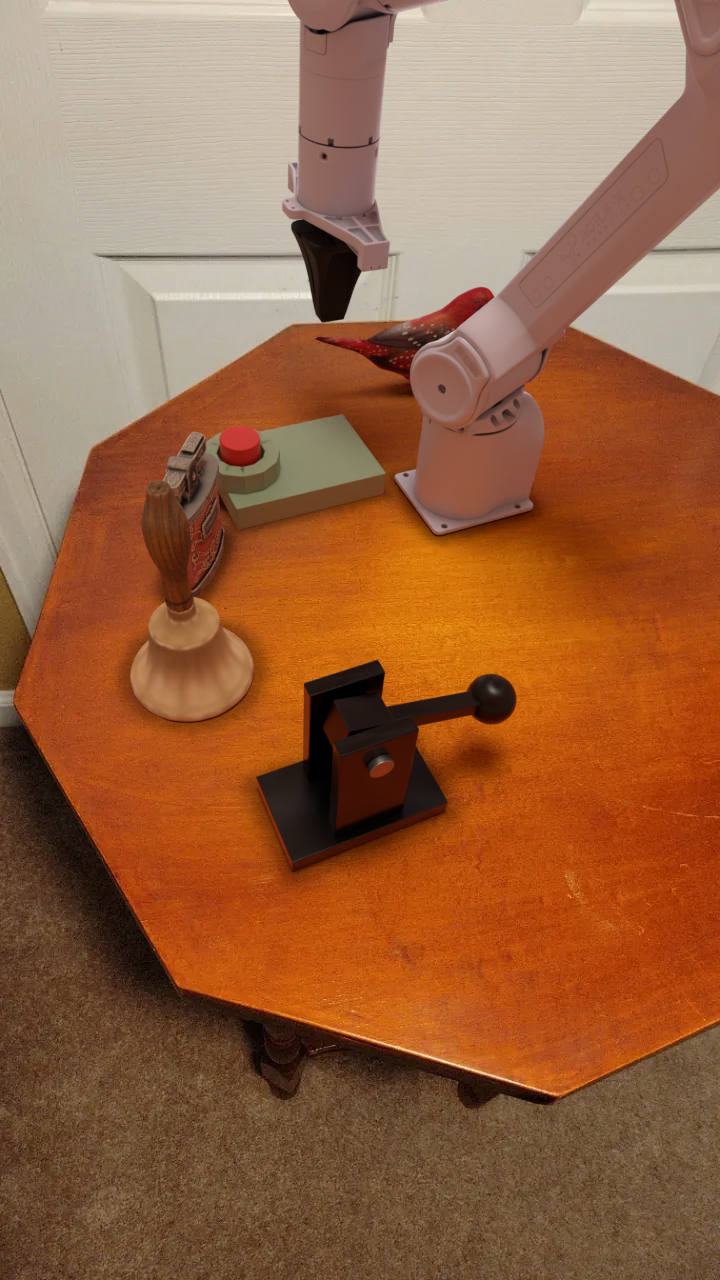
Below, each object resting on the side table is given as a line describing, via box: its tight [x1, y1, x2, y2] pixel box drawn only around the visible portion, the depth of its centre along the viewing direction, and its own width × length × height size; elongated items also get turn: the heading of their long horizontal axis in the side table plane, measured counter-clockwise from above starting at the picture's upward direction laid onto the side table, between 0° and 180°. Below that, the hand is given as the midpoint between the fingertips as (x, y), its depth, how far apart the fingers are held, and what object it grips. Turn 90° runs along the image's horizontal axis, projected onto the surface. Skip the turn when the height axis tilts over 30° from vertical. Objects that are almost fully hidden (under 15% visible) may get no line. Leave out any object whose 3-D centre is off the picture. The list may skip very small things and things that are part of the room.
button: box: [219, 425, 261, 467], centre depth 64 cm, size 3×3×2 cm
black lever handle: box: [323, 673, 518, 747], centre depth 45 cm, size 12×3×3 cm, turn 114°
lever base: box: [255, 659, 449, 872], centre depth 46 cm, size 10×6×10 cm, turn 114°
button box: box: [205, 413, 387, 531], centre depth 67 cm, size 14×9×4 cm, turn 114°
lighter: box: [161, 431, 226, 598], centre depth 58 cm, size 8×3×10 cm, turn 168°
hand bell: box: [129, 479, 255, 723], centre depth 49 cm, size 8×8×16 cm
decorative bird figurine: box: [314, 286, 495, 391], centre depth 75 cm, size 3×18×10 cm, turn 103°
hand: (330, 317), depth 66 cm, fingers closed
